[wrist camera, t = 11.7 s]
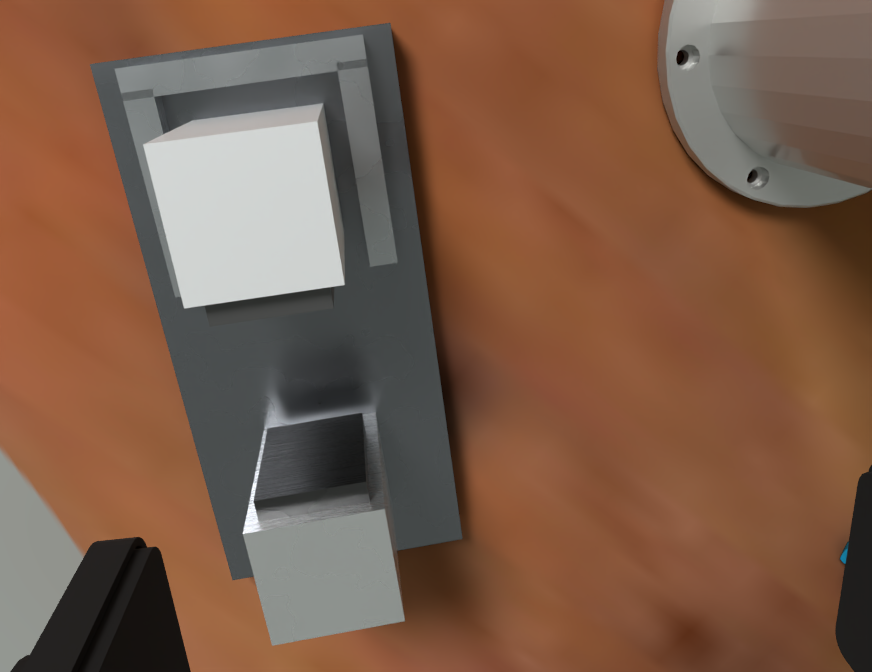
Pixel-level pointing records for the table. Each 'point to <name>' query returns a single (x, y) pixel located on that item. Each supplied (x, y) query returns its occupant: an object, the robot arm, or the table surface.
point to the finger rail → (306, 340)
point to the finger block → (251, 213)
